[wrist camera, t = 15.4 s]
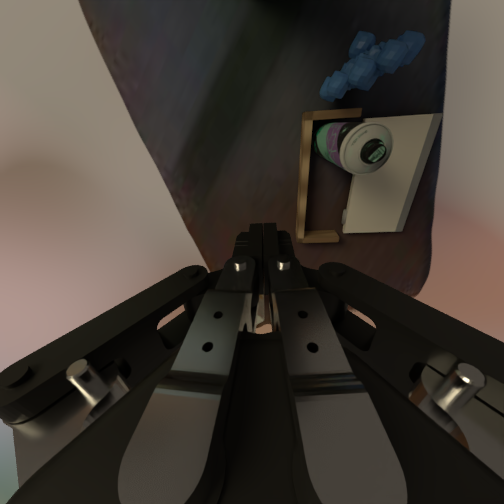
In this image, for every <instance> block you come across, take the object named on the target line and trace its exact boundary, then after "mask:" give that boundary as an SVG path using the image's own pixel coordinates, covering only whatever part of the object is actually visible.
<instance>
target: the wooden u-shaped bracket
mask: <svg viewBox="0 0 504 504" xmlns="http://www.w3.org/2000/svg"><path fill="white" fill-rule="evenodd" d="M361 112H362V108H351V109H337V110H324V111H310V112H304V113H302V129H301V147H300V165H299V184H298V202H297V220H296V239H297V243H323V242H338V241H339V236H338V234H337V233H336V231H335V230H320V231H304V227H305V214H306V201H307V188H308V175H309V162H310V149H311V137H312V124H313V120H323V119H337V118H351V117H361Z"/></svg>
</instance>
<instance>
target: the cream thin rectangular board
mask: <svg viewBox="0 0 504 504" xmlns="http://www.w3.org/2000/svg"><path fill="white" fill-rule="evenodd" d="M442 115H443V113H437V114H423V115H409V116H395V117H380V118H366V119H363V122H377V123H380V124H383V125H385V126H386V127H388V128H389V129H390V131H391V132H392V135H393V140H394V143H393V149H392V153H391V155H390V157H389V159H388V160H387V162H386V163H385V164H384V165H383V166H382V167H381V168H380V169H378V170H377V171H375V172H373V173H371V174H367V175H356V174H353V176H352V182H351V187H350V193H349V198H348V204H347V209H344V210H343V216H342V222H341V223H342V224H344V226H343V233H365V232H400V231H402V230H403V227H404V224H405V222H406V219H407V216H408V213H409V210H410V207H411V204H412V201H413V199H414V196H415V193H416V190H417V187H418V184H419V181H420V178H421V176H422V173H423V170H424V167H425V164H426V161H427V158H428V155H429V153H430V150H431V147H432V144H433V141H434V138H435V135H436V133H437V130H438V127H439V124H440V121H441V118H442Z"/></svg>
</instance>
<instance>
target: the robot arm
mask: <svg viewBox="0 0 504 504" xmlns="http://www.w3.org/2000/svg"><path fill="white" fill-rule="evenodd" d="M264 281H265V295H269V309H270V317H271V325H272V332H270V333H266V334H256V333H255V329H256V323H257V315H258V302H259V295H264ZM181 305H184V308H185V311H184V312H182V313H181V314H179V315H178V316H177V317H175V318H174V319H172V320H171V321H170V322H168V323H167V324H166V325H164V326H163V327H161V328H160V329H158V330H157V325H158V323H159V322H160V320H161V319H163V318H164V317H165V316H167V315H168V314H170V313H171V312H172V311H174V310H175V309H177V308H178V307H180V306H181ZM348 305H350V306H351V307H353V308H355V309H356V310H358V311H359V312H361V313H363V314H364V315H366V316H367V317H369V318H370V319H371V320H372V321H373V322H374V324H375V325H376V328H374V327H373V326H371V325H369V324H368V323H366V322H365V321H364V320H362V319H360V318H359V317H358V316H356V315H355V314H353V313H352V312H350V311H349V310H347V307H348ZM0 418H1V419H2V420H3V423H5V424H6V425H8V426H10V427H11V428H12V429H13V436H14V445H15V454H16V464H17V472H18V482H19V489H18V490H17V491H16V492H15V494H14V495H13V496H12V497H11V498H10V499H9V501H8V502H7V503H6V504H504V343H503V342H501V341H499V340H497V339H495V338H493V337H491V336H489V335H487V334H485V333H483V332H481V331H479V330H477V329H475V328H473V327H471V326H469V325H467V324H465V323H463V322H461V321H459V320H457V319H455V318H453V317H451V316H449V315H447V314H444V313H443V312H440V311H438V310H436V309H434V308H432V307H430V306H428V305H426V304H424V303H422V302H420V301H418V300H416V299H414V298H412V297H410V296H408V295H406V294H404V293H402V292H400V291H398V290H396V289H394V288H392V287H390V286H388V285H386V284H384V283H381V282H379V281H377V280H375V279H373V278H371V277H369V276H367V275H365V274H363V273H361V272H359V271H357V270H355V269H353V268H351V267H349V266H347V265H345V264H342V263H337V262H329V263H325V264H322V265H321V266H320V267H319V270H314V269H309V268H306V267H303V266H302V265H300V262H299V260H298V259H297V258H296V257H295V254H294V250H293V246H292V241H291V237H290V234H289V233H287V232H286V231H277V228H276V223H264V236H263V224H262V223H257V224H250V228H249V232H241V233H240V234H239V235H238V236H237V238H236V243H235V247H234V251H233V255H232V258H230V259H228V260H227V261H226V263H225V265H224V268H223V269H221V270H219V271H215V272H210V273H208V272H207V269H206V268H205V267H203V266H199V265H192V266H188V267H185V268H183V269H181V270H179V271H178V272H176V273H174V274H172V275H171V276H169V277H167V278H165V279H163V280H161V281H160V282H158V283H156V284H154V285H153V286H151V287H149V288H147V289H145V290H144V291H142V292H140V293H138V294H137V295H135V296H133V297H131V298H129V299H128V300H126V301H124V302H122V303H120V304H119V305H117V306H115V307H114V308H112V309H110V310H108V311H106V312H104V313H103V314H101V315H99V316H98V317H96V318H94V319H92V320H90V321H89V322H87V323H85V324H83V325H81V326H79V327H78V328H76V329H74V330H72V331H71V332H69V333H67V334H65V335H63V336H62V337H60V338H58V339H56V340H54V341H53V342H51V343H49V344H47V345H46V346H44V347H42V348H40V349H38V350H37V351H35V352H33V353H31V354H30V355H28V356H26V357H24V358H23V359H21V360H19V361H17V362H16V363H14V364H12V365H10V366H9V367H7V368H6V369H5V370H3V371H2V372H1V373H0Z"/></svg>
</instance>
